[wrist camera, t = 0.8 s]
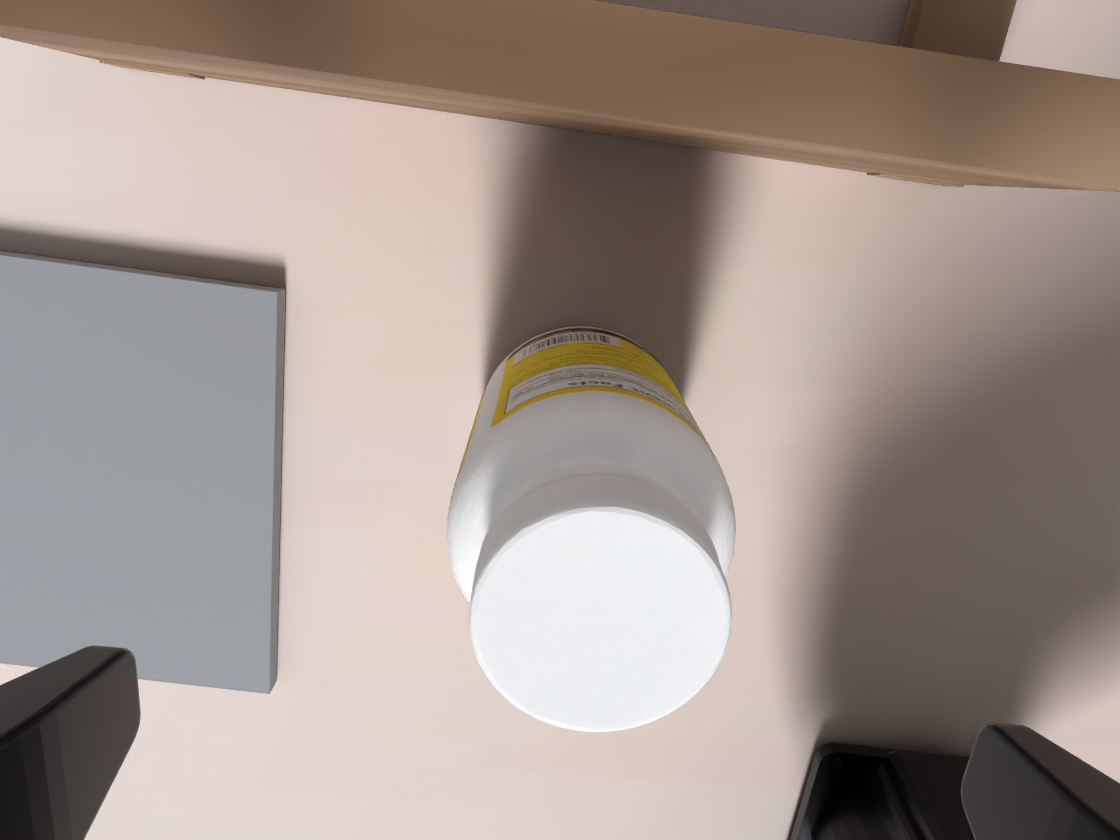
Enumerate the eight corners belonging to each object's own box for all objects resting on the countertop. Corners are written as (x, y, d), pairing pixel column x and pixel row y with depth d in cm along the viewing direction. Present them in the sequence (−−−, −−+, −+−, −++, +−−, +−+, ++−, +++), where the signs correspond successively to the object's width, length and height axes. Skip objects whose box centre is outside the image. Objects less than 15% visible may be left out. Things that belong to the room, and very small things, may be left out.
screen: (947, 185, 19) (1156, 196, 12) (119, 67, 18) (-140, 7, 11) (997, 5, 18) (1262, -96, 11) (111, -132, 17) (-186, -327, 10)
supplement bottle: (593, 547, 22) (615, 826, 13) (440, 433, 21) (341, 647, 12) (723, 407, 21) (855, 604, 11) (567, 278, 20) (571, 378, 10)
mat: (276, 680, 23) (269, 693, 23) (-128, 634, 23) (-146, 646, 22) (285, 288, 20) (277, 292, 19) (-197, 224, 19) (-221, 225, 19)
